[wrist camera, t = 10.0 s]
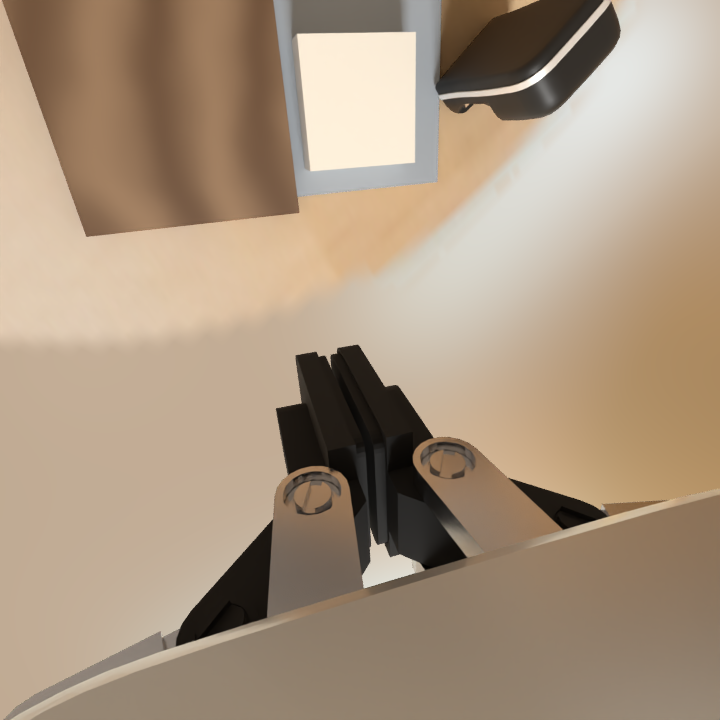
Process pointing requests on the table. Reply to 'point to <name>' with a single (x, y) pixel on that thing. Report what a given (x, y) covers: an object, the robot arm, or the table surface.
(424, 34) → the mat
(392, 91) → the coaster
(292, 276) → the table surface
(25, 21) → the board
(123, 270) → the table surface
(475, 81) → the battery charger
